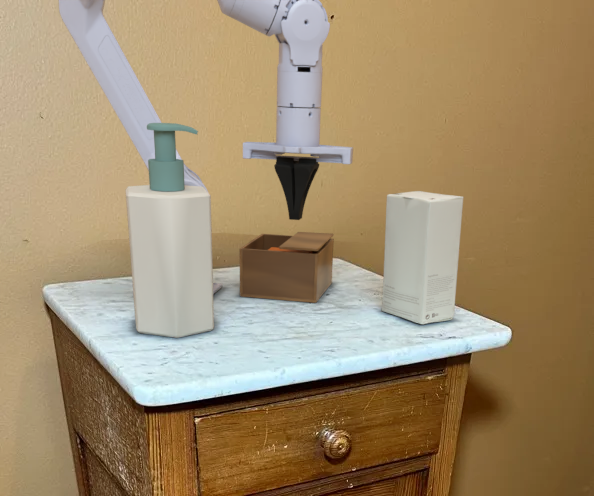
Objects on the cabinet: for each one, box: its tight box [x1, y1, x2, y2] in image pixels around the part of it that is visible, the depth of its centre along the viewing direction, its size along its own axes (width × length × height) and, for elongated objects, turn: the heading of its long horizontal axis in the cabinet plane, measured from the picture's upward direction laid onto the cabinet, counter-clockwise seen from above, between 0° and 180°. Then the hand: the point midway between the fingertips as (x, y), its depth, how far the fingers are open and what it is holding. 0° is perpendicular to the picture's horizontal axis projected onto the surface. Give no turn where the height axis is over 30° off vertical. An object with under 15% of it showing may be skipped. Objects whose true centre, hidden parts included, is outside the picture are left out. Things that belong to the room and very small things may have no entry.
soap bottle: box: [125, 122, 215, 339], centre depth 88 cm, size 10×9×22 cm
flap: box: [279, 231, 334, 251], centre depth 107 cm, size 12×5×1 cm, turn 167°
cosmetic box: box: [381, 190, 465, 325], centre depth 97 cm, size 8×6×15 cm
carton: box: [239, 233, 335, 304], centre depth 110 cm, size 12×11×6 cm
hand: (295, 218), depth 106 cm, fingers closed
